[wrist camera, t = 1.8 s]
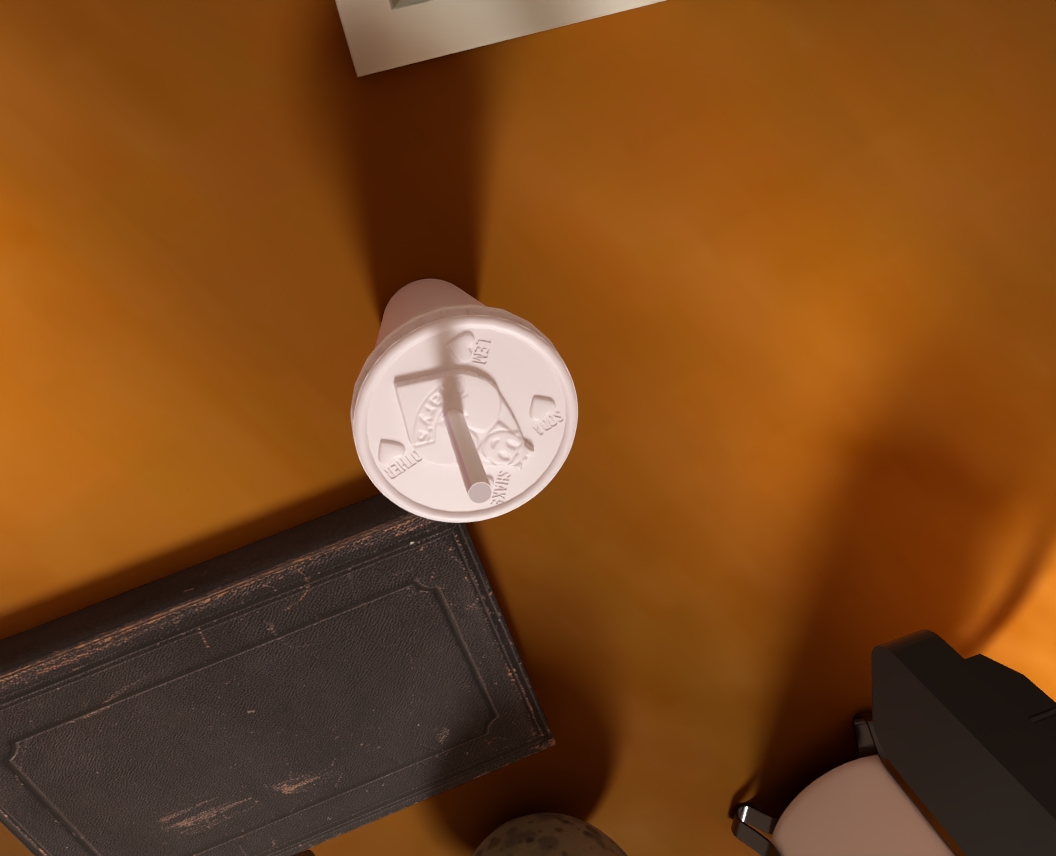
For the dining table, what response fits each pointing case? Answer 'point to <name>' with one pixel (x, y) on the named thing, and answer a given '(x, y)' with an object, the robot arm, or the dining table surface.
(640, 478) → the dining table surface
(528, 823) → the decorative egg
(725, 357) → the dining table surface
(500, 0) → the green glass shallow box
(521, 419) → the smoothie
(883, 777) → the coffee press
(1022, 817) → the robot arm
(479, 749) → the hardcover book
